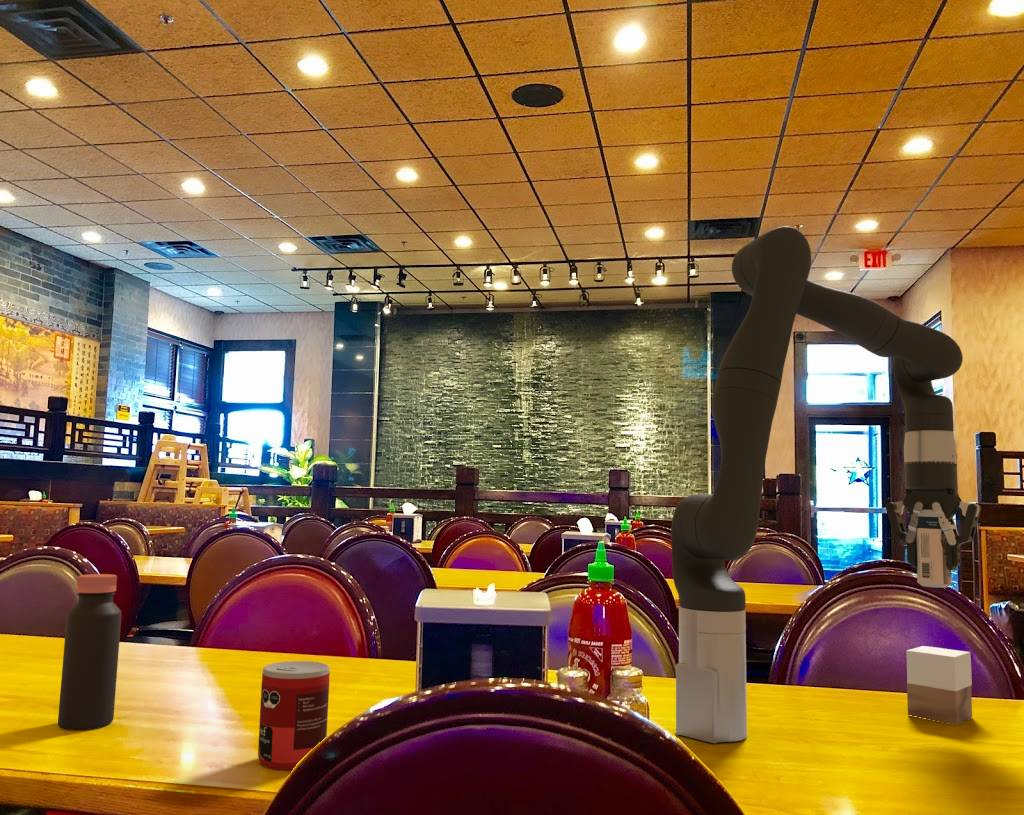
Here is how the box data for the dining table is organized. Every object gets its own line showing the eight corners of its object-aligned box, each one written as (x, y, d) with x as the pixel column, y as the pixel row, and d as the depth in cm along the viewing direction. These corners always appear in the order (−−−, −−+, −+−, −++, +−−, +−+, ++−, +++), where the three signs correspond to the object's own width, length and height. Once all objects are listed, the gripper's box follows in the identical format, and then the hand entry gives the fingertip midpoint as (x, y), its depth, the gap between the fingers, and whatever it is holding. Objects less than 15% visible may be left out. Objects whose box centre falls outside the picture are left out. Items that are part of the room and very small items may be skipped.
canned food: (264, 751, 102) (269, 660, 103) (329, 751, 103) (334, 660, 104) (250, 771, 94) (255, 673, 96) (320, 771, 95) (325, 673, 96)
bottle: (56, 733, 107) (69, 578, 110) (58, 720, 113) (70, 573, 116) (114, 728, 111) (125, 577, 113) (112, 716, 117) (123, 573, 119)
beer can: (955, 588, 126) (953, 510, 128) (922, 587, 127) (919, 509, 129) (946, 585, 131) (943, 510, 132) (913, 584, 132) (911, 509, 133)
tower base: (957, 726, 122) (955, 691, 123) (908, 716, 127) (906, 683, 128) (972, 718, 127) (970, 685, 127) (924, 709, 132) (923, 677, 132)
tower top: (956, 691, 123) (954, 657, 123) (907, 683, 128) (906, 650, 128) (971, 685, 127) (970, 652, 128) (924, 677, 132) (923, 645, 133)
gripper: (875, 460, 134) (878, 566, 132) (971, 458, 124) (976, 573, 122) (892, 462, 139) (895, 564, 137) (987, 461, 129) (991, 571, 127)
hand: (933, 568), depth 129 cm, fingers closed on beer can, 4 cm apart
